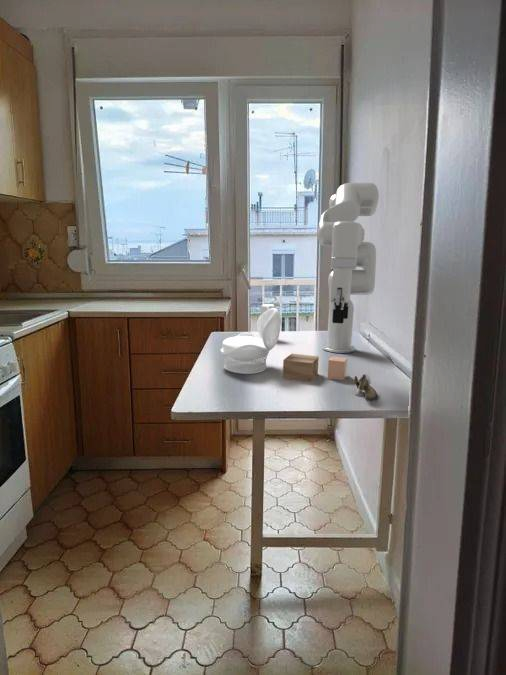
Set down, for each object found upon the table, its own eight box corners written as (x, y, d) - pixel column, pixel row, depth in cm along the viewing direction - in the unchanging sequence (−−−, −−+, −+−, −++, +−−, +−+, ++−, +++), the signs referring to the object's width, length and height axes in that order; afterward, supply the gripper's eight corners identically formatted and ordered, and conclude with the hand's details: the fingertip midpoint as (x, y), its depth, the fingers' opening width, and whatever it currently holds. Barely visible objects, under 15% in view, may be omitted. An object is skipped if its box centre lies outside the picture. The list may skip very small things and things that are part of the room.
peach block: (330, 374, 144) (331, 356, 142) (346, 376, 142) (347, 357, 141) (327, 378, 139) (328, 360, 138) (343, 380, 137) (345, 361, 136)
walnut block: (290, 371, 147) (291, 353, 146) (317, 374, 144) (318, 356, 142) (282, 378, 139) (283, 359, 137) (311, 382, 135) (312, 363, 134)
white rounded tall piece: (275, 341, 190) (276, 306, 187) (259, 340, 190) (260, 306, 187) (274, 337, 197) (275, 304, 194) (259, 337, 197) (260, 303, 194)
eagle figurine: (340, 387, 127) (354, 392, 118) (353, 366, 127) (367, 368, 119) (361, 400, 128) (376, 406, 119) (373, 379, 129) (389, 383, 120)
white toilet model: (220, 359, 158) (220, 304, 154) (275, 359, 160) (277, 304, 156) (220, 376, 139) (220, 312, 135) (283, 376, 141) (285, 313, 136)
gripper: (335, 262, 142) (332, 315, 146) (326, 264, 126) (322, 324, 130) (359, 263, 140) (355, 317, 143) (352, 265, 124) (349, 326, 127)
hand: (340, 320), depth 137 cm, fingers open, 9 cm apart
